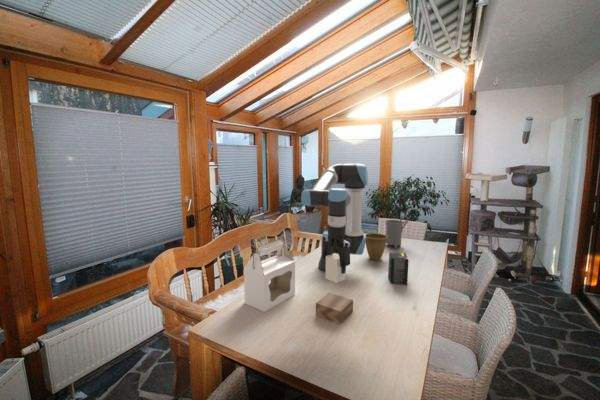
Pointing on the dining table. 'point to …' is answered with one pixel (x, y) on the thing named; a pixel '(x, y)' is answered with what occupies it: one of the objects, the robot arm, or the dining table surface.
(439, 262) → the dining table surface
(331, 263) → the cream block
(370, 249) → the plant pot
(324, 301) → the walnut block
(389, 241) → the grey pitcher
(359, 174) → the robot arm
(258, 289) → the gable box
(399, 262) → the tampon box
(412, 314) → the dining table surface
